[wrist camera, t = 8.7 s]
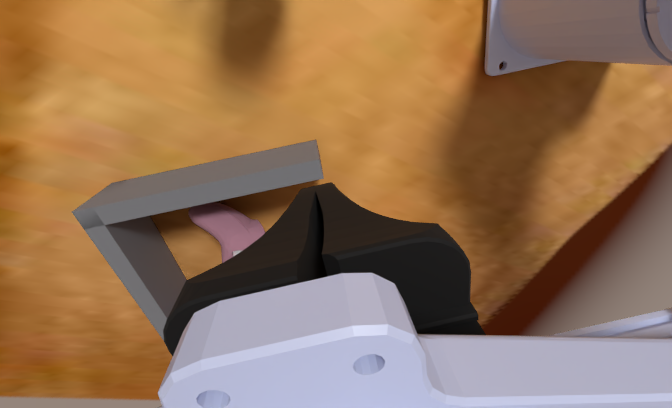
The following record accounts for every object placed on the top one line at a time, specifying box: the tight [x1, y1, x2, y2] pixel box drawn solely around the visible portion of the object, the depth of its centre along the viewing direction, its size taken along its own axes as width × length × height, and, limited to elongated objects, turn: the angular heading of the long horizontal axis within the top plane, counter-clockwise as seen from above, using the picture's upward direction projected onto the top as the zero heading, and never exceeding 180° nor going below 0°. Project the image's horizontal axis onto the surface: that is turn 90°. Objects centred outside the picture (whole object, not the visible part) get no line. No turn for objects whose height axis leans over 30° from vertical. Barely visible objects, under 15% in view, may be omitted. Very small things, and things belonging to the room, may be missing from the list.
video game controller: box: [189, 202, 265, 263], centre depth 22 cm, size 10×5×7 cm, turn 173°
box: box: [72, 140, 324, 340], centre depth 23 cm, size 14×20×4 cm
